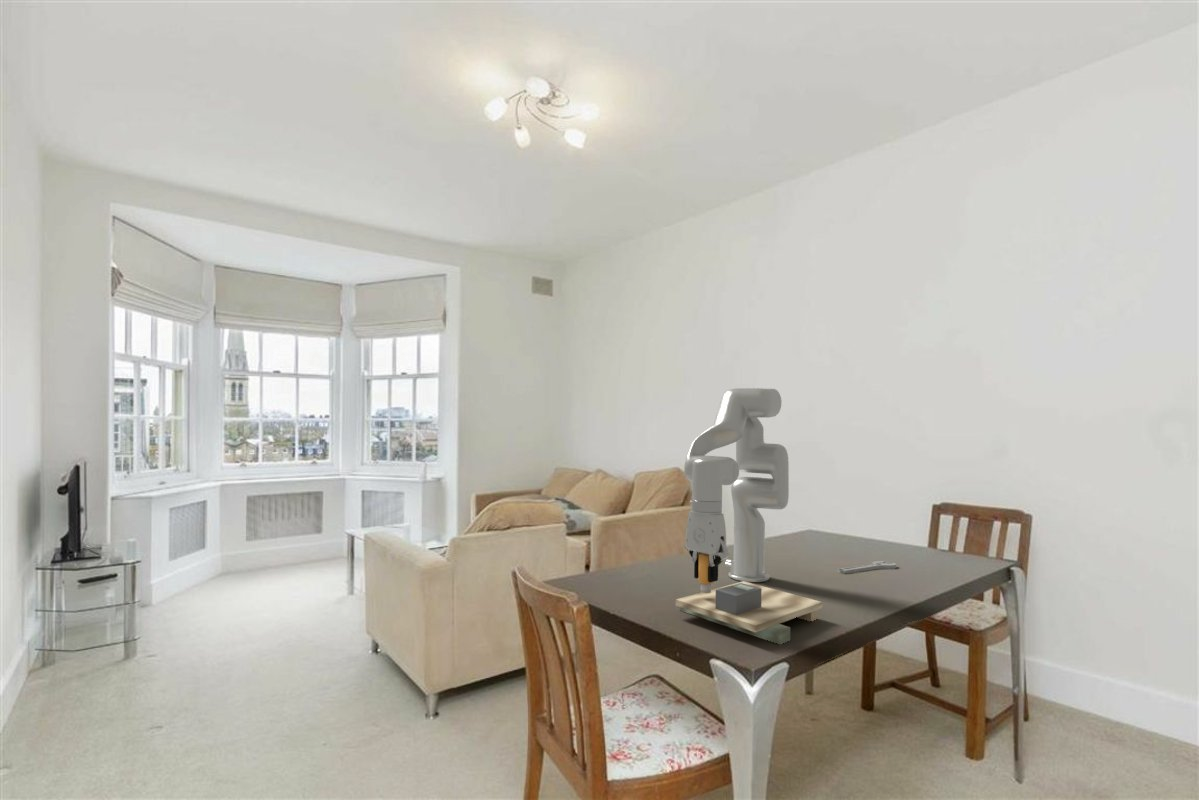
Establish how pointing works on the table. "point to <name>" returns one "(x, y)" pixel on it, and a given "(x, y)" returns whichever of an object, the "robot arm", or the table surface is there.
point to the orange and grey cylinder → (704, 573)
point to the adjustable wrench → (868, 567)
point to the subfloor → (755, 612)
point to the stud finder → (738, 598)
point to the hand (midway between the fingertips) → (706, 578)
